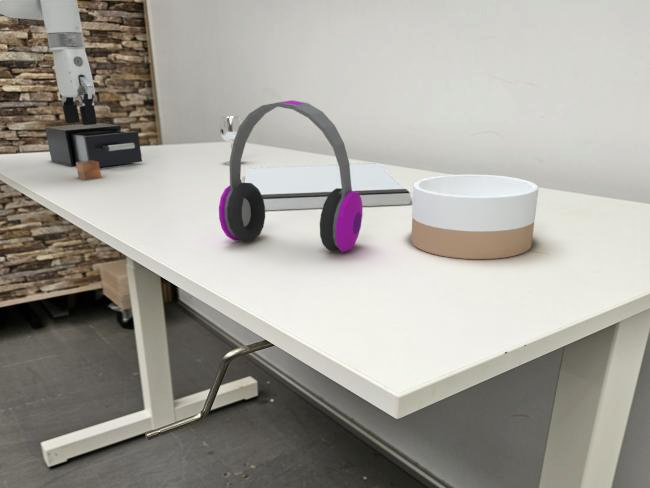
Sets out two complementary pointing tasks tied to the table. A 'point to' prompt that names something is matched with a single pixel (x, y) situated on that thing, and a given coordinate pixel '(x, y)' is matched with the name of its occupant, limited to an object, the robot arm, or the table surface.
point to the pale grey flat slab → (324, 185)
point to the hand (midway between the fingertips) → (81, 123)
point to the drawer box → (61, 141)
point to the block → (88, 170)
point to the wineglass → (229, 128)
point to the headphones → (247, 202)
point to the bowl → (473, 216)
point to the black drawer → (106, 147)
